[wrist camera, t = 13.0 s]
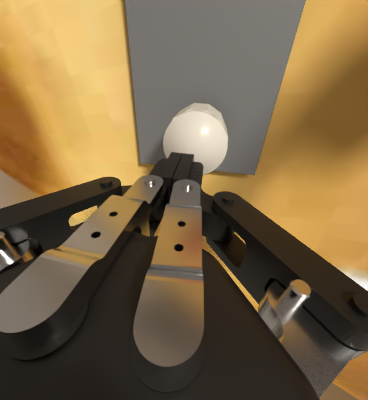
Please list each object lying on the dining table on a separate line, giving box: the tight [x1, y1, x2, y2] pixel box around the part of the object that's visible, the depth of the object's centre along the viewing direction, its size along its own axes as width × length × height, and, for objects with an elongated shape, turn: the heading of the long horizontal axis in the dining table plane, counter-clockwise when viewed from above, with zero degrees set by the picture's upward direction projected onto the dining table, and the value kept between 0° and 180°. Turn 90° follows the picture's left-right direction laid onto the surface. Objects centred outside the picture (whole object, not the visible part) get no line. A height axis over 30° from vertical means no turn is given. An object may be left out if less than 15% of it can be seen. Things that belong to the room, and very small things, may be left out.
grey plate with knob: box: [125, 0, 306, 175], centre depth 17 cm, size 24×16×8 cm, turn 177°
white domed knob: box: [163, 103, 228, 175], centre depth 19 cm, size 6×6×5 cm
